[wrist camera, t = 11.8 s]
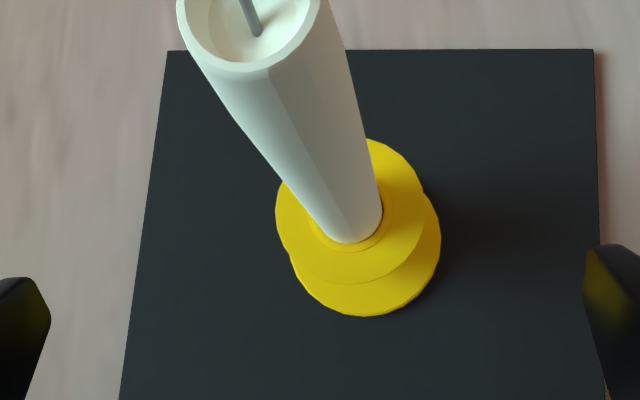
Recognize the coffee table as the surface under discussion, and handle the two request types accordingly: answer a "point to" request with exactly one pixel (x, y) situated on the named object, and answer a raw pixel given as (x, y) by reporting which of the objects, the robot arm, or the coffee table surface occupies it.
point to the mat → (455, 250)
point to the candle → (317, 151)
